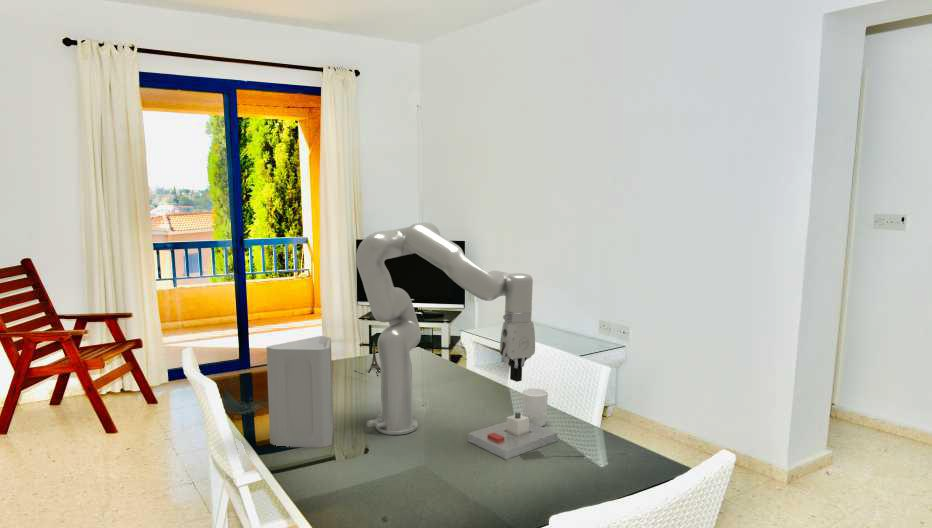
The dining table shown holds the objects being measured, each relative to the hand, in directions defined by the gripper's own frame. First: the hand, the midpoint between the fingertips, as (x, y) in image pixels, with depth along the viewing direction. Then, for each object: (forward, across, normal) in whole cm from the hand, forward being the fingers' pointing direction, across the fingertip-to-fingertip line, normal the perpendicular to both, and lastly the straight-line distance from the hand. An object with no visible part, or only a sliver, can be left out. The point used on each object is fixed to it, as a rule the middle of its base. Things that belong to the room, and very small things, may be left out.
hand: (515, 380), depth 172 cm
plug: (+17, +1, -1) cm, 17 cm away
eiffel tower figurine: (+20, +4, +88) cm, 90 cm away
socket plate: (+18, -1, -1) cm, 18 cm away
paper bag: (+20, -45, +37) cm, 62 cm away
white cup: (+18, +14, +5) cm, 23 cm away
